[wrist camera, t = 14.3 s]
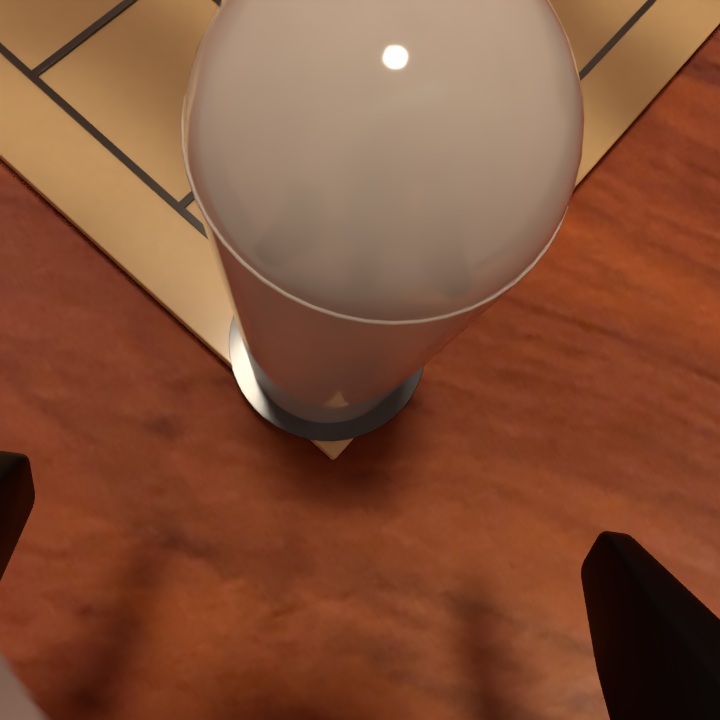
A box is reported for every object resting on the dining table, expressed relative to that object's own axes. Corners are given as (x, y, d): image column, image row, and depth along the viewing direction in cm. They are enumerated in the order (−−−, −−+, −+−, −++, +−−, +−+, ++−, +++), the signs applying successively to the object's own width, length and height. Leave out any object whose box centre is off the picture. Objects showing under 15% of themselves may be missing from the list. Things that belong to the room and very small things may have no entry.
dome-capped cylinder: (409, 422, 17) (722, 261, 5) (246, 424, 17) (117, 250, 4) (402, 270, 18) (646, -193, 6) (248, 268, 18) (147, -253, 5)
